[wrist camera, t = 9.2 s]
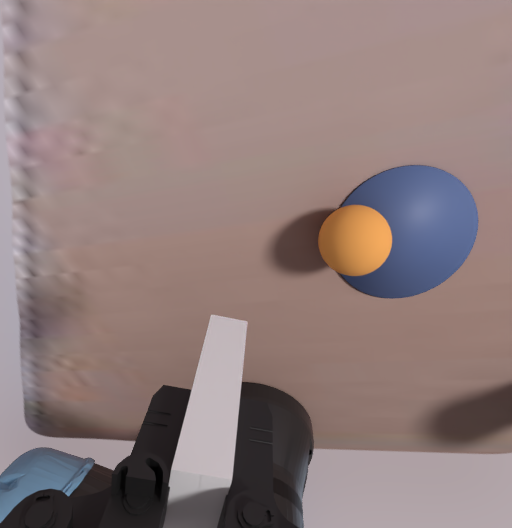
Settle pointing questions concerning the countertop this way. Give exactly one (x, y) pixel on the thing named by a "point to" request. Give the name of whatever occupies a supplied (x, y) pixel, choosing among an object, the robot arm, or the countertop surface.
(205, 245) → the countertop surface
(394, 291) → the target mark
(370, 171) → the countertop surface
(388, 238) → the ball
